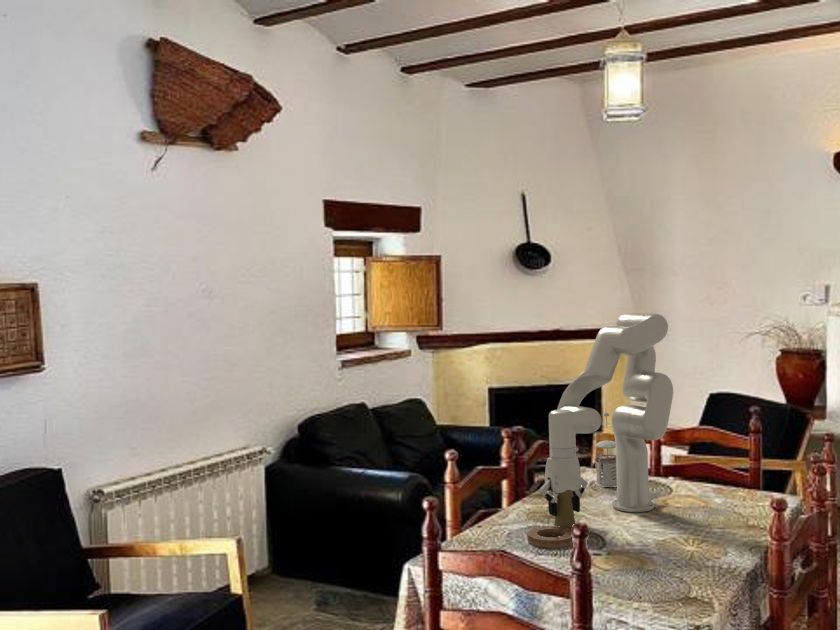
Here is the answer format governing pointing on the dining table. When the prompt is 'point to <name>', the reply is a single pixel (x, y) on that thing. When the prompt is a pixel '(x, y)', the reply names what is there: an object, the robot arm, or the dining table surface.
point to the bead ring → (550, 542)
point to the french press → (606, 464)
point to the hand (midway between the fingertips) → (564, 512)
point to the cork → (565, 509)
